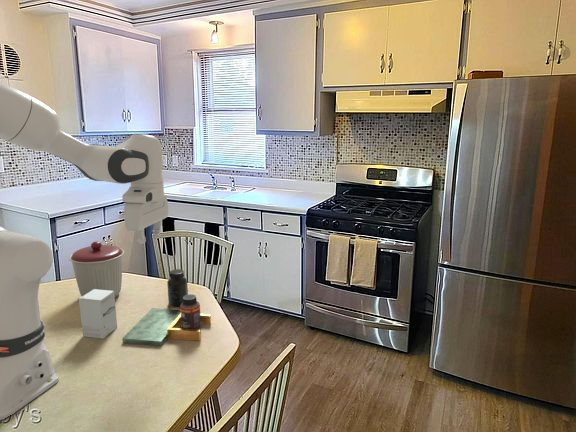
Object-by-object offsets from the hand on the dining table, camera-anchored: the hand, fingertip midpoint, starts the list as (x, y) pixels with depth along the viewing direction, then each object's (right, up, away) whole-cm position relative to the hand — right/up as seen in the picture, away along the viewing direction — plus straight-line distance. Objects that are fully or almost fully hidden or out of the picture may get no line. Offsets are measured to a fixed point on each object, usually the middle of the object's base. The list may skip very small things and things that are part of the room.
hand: (149, 239), depth 123 cm
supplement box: (-18, -29, +8) cm, 35 cm away
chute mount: (+4, -29, +10) cm, 31 cm away
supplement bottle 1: (+1, -25, +28) cm, 37 cm away
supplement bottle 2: (+10, -29, +9) cm, 32 cm away
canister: (-28, -23, +33) cm, 49 cm away
